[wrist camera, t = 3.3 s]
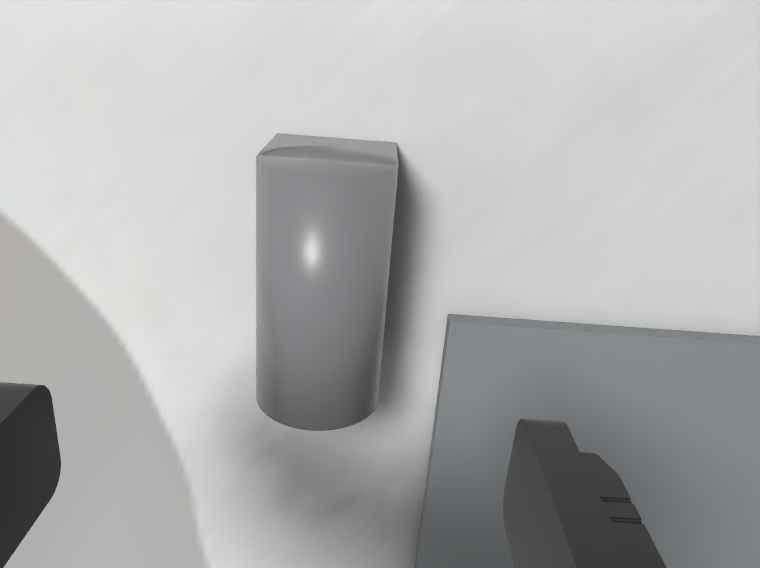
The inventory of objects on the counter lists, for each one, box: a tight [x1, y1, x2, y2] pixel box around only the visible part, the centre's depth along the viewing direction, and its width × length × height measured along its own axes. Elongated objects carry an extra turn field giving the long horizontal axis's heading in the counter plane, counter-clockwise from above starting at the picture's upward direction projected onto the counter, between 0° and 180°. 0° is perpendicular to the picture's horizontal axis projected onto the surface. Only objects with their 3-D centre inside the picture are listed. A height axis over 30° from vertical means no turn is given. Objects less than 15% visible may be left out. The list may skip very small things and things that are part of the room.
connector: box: [256, 134, 399, 431], centre depth 18 cm, size 4×8×5 cm, turn 176°
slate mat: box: [415, 314, 760, 568], centre depth 24 cm, size 14×14×1 cm
